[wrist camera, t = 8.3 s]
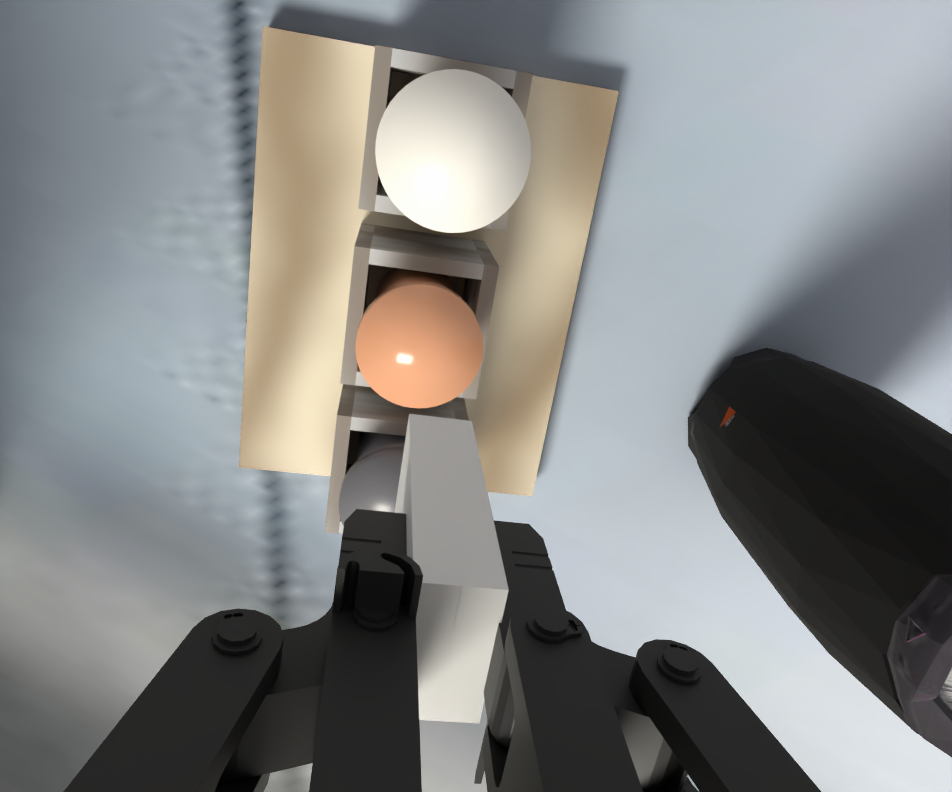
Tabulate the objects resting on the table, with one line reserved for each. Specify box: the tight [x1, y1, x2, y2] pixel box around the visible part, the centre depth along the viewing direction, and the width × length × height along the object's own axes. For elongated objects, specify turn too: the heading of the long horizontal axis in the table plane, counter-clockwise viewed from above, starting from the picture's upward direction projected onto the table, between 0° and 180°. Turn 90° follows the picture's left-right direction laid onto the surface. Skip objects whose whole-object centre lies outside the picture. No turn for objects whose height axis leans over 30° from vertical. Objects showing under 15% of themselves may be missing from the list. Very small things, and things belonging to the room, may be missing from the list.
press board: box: [239, 26, 619, 533], centre depth 33 cm, size 15×20×7 cm
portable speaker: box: [688, 348, 952, 757], centre depth 31 cm, size 9×9×20 cm
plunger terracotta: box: [355, 268, 483, 408], centre depth 30 cm, size 5×5×7 cm
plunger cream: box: [375, 69, 531, 233], centre depth 25 cm, size 5×5×7 cm
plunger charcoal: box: [339, 431, 406, 526], centre depth 33 cm, size 5×5×7 cm
